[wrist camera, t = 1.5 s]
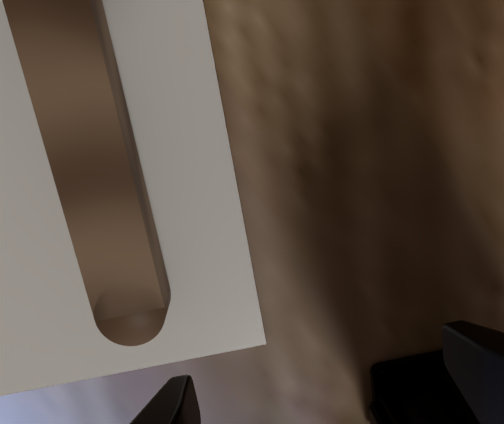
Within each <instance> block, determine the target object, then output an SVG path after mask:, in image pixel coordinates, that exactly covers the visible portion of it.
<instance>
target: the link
mask: <svg viewBox="0 0 504 424" xmlns="http://www.w3.org/2000/svg"><path fill="white" fill-rule="evenodd" d="M2 1H3V5H4V8H5V12H6V15H7V19H8V22H9V26H10V29H11V33H12V36H13V40H14V43H15V46H16V50H17V53H18V57H19V60H20V64H21V67H22V71H23V74H24V78H25V81H26V85H27V88H28V92H29V95H30V98H31V102H32V105H33V109H34V112H35V116H36V119H37V123H38V126H39V130H40V133H41V137H42V140H43V143H44V147H45V150H46V154H47V157H48V161H49V164H50V168H51V171H52V175H53V178H54V182H55V185H56V189H57V192H58V195H59V199H60V202H61V206H62V209H63V213H64V216H65V220H66V223H67V227H68V230H69V234H70V237H71V241H72V244H73V247H74V251H75V254H76V258H77V261H78V265H79V268H80V272H81V275H82V279H83V282H84V286H85V289H86V293H87V296H88V299H89V303H90V306H91V310H92V313H93V317H94V320H95V323H96V326H97V328H98V329H99V331H100V332H101V333H102V334H103V335H104V336H105V337H106V338H107V339H108V340H110V341H112V342H114V343H116V344H119V345H123V346H138V345H142V344H145V343H147V342H149V341H151V340H152V339H154V338H155V337H156V336H157V335H158V334H159V332H160V331H161V329H162V327H163V325H164V322H165V318H166V315H167V311H168V308H169V304H170V301H171V290H170V286H169V281H168V277H167V273H166V269H165V265H164V260H163V256H162V252H161V248H160V243H159V239H158V235H157V231H156V227H155V222H154V218H153V214H152V210H151V206H150V201H149V197H148V193H147V189H146V184H145V180H144V176H143V172H142V168H141V163H140V159H139V155H138V151H137V147H136V142H135V138H134V134H133V130H132V125H131V121H130V117H129V113H128V109H127V104H126V100H125V96H124V92H123V87H122V83H121V79H120V75H119V71H118V66H117V62H116V58H115V54H114V50H113V45H112V41H111V37H110V33H109V28H108V24H107V20H106V16H105V12H104V7H103V3H102V0H2Z"/></svg>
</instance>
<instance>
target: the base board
mask: <svg viewBox="0 0 504 424" xmlns="http://www.w3.org/2000/svg"><path fill="white" fill-rule="evenodd" d="M102 3H103V7H104V12H105V16H106V20H107V24H108V28H109V33H110V37H111V41H112V45H113V50H114V54H115V58H116V62H117V66H118V71H119V75H120V79H121V83H122V87H123V92H124V96H125V100H126V104H127V109H128V113H129V117H130V121H131V125H132V130H133V134H134V138H135V142H136V147H137V151H138V155H139V159H140V163H141V168H142V172H143V176H144V180H145V184H146V189H147V193H148V197H149V201H150V206H151V210H152V214H153V218H154V222H155V227H156V231H157V235H158V239H159V243H160V248H161V252H162V256H163V260H164V265H165V269H166V273H167V277H168V281H169V286H170V290H171V301H170V304H169V308H168V311H167V315H166V318H165V322H164V325H163V327H162V329H161V331H160V332H159V334H158V335H157V336H156V337H155V338H154V339H152V340H151V341H149V342H147V343H145V344H142V345H138V346H123V345H119V344H116V343H114V342H112V341H110V340H108V339H107V338H106V337H105V336H104V335H103V334H102V333H101V332H100V331H99V329H98V328H97V326H96V323H95V320H94V317H93V313H92V310H91V306H90V303H89V299H88V296H87V293H86V289H85V286H84V282H83V279H82V275H81V272H80V268H79V265H78V261H77V258H76V254H75V251H74V247H73V244H72V241H71V237H70V234H69V230H68V227H67V223H66V220H65V216H64V213H63V209H62V206H61V202H60V199H59V195H58V192H57V189H56V185H55V182H54V178H53V175H52V171H51V168H50V164H49V161H48V157H47V154H46V150H45V147H44V143H43V140H42V137H41V133H40V130H39V126H38V123H37V119H36V116H35V112H34V109H33V105H32V102H31V98H30V95H29V92H28V88H27V85H26V81H25V78H24V74H23V71H22V67H21V64H20V60H19V57H18V53H17V50H16V46H15V43H14V40H13V36H12V33H11V29H10V26H9V22H8V19H7V15H6V12H5V8H4V5H3V1H2V0H0V396H3V395H8V394H13V393H18V392H23V391H29V390H34V389H39V388H44V387H49V386H54V385H59V384H64V383H70V382H75V381H80V380H85V379H90V378H95V377H100V376H105V375H111V374H116V373H121V372H126V371H131V370H136V369H141V368H146V367H151V366H157V365H162V364H167V363H172V362H177V361H182V360H187V359H192V358H198V357H203V356H208V355H213V354H218V353H223V352H228V351H233V350H238V349H244V348H249V347H254V346H259V345H264V344H266V340H265V335H264V329H263V324H262V318H261V313H260V307H259V302H258V297H257V291H256V286H255V280H254V275H253V270H252V264H251V259H250V253H249V248H248V243H247V237H246V232H245V226H244V221H243V216H242V210H241V205H240V199H239V194H238V189H237V183H236V178H235V172H234V167H233V162H232V156H231V151H230V145H229V140H228V135H227V129H226V124H225V118H224V113H223V108H222V102H221V97H220V91H219V86H218V81H217V75H216V70H215V64H214V59H213V54H212V48H211V43H210V37H209V32H208V27H207V21H206V16H205V10H204V5H203V0H102Z"/></svg>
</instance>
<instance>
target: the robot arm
mask: <svg viewBox="0 0 504 424" xmlns="http://www.w3.org/2000/svg"><path fill="white" fill-rule="evenodd" d="M442 344H443V350H440V351H435V352H430V353H425V354H420V355H415V356H410V357H405V358H400V359H395V360H390V361H385V362H380V363H376V364H374V365H373V366H372V367H371V369H370V376H371V384H372V392H373V401H374V402H371V404H370V405H369V414H370V422H371V424H504V333H503V332H500V331H496V330H493V329H490V328H486V327H483V326H480V325H476V324H473V323H470V322H466V321H463V320H460V321H455V322H450V323H445V324H444V325H443V326H442ZM380 371H383V373H382V374H381V375H377V374H378V373H379V372H380ZM130 424H201V418H200V410H199V405H198V401H197V397H196V392H195V388H194V384H193V380H192V377H191V376H190V375H182V376H176V377H172V378H170V379H169V380H168V381H167V383H166V384H165V385H164V386H163V387H162V388H161V389H160V390H159V391H158V393H157V394H156V395H155V396H154V397H153V398H152V399H151V400H150V401H149V403H148V404H147V405H146V406H145V407H144V408H143V409H142V410H141V411H140V413H139V414H138V415H137V416H136V417H135V418H134V419H133V420H132V422H131V423H130Z"/></svg>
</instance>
